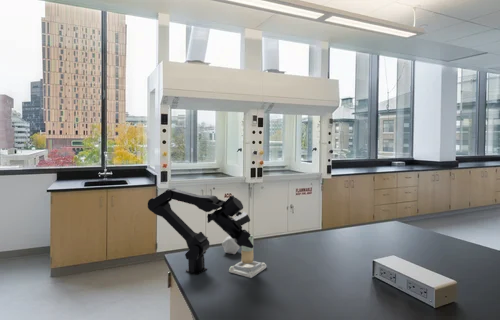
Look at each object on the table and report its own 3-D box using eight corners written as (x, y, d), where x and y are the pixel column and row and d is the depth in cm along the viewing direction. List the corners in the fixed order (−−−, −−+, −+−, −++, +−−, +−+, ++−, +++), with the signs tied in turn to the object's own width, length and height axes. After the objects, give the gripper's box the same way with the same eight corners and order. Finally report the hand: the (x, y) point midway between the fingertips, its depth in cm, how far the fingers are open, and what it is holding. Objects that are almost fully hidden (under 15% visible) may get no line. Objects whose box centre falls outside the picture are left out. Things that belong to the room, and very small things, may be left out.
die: (243, 252, 157) (236, 234, 161) (241, 249, 150) (234, 230, 154) (228, 259, 157) (221, 240, 161) (225, 256, 149) (218, 237, 153)
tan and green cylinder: (249, 264, 131) (249, 238, 130) (239, 261, 134) (239, 236, 133) (255, 260, 135) (255, 235, 135) (245, 257, 138) (245, 233, 137)
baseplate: (251, 277, 127) (251, 272, 127) (228, 271, 133) (228, 266, 133) (266, 267, 137) (266, 262, 137) (244, 262, 143) (244, 257, 143)
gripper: (245, 211, 123) (271, 236, 127) (232, 202, 140) (255, 225, 145) (225, 233, 121) (253, 258, 125) (214, 221, 138) (239, 244, 143)
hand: (250, 245), depth 135 cm, fingers closed on tan and green cylinder, 5 cm apart
